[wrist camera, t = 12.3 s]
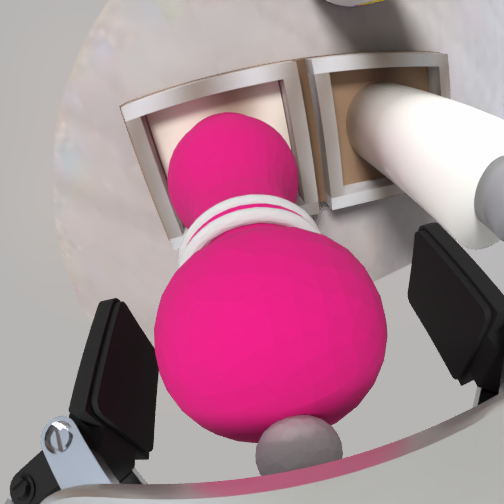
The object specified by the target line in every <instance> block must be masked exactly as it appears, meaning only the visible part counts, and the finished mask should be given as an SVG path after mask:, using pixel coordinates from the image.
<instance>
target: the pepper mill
mask: <svg viewBox="0 0 504 504" xmlns="http://www.w3.org/2000/svg"><path fill="white" fill-rule="evenodd" d="M167 182H168V193H169V197H170V201H171V203H172V205H173V207H174V209H175V212H176V214H177V216H178V217H179V219H180V220H181V222H182V223H183V224H184V226H185V227H186V228H187V229H188V231H187V232H186V234H185V236H184V238H183V241H182V243H181V247H180V252H179V259H178V260H179V267H178V270H177V271H176V273H175V274H174V275H173V277H172V279H171V280H170V282H169V284H168V286H167V287H166V289H165V291H164V293H163V295H162V297H161V300H160V304H159V308H158V312H157V317H156V322H155V327H154V337H155V354H156V359H157V364H158V368H159V372H160V375H161V377H162V380H163V382H164V384H165V387H166V389H167V391H168V392H169V394H170V395H171V397H172V398H173V399H174V401H175V402H176V403H177V405H178V406H179V407H180V408H181V410H182V411H183V412H184V413H185V414H187V415H188V416H189V417H190V418H192V419H193V420H194V421H195V422H197V423H198V424H199V425H200V426H202V427H203V428H205V429H207V430H209V431H211V432H213V433H215V434H217V435H220V436H223V437H226V438H229V439H233V440H236V441H242V442H251V443H258V444H257V447H256V464H257V466H258V470H259V472H260V474H261V476H265V475H271V474H277V473H282V472H288V471H293V470H298V469H302V468H307V467H311V466H316V465H320V464H324V463H328V462H332V461H336V460H339V459H342V455H343V452H342V444H341V441H340V438H339V436H338V434H337V432H336V431H335V430H334V429H333V427H332V426H331V425H333V424H335V423H337V422H338V421H339V420H340V419H342V418H343V417H344V416H345V415H347V414H348V413H349V412H351V411H352V410H353V409H354V408H356V407H357V406H358V405H359V403H360V402H361V401H362V400H363V398H364V397H365V396H366V394H367V393H368V392H369V390H370V389H371V388H372V386H373V385H374V383H375V381H376V378H377V376H378V373H379V371H380V369H381V366H382V364H383V361H384V356H385V350H386V349H385V348H386V342H387V325H386V319H385V314H384V310H383V305H382V302H381V297H380V295H379V293H378V291H377V289H376V287H375V285H374V283H373V281H372V280H371V278H370V276H369V274H368V272H367V271H366V269H365V267H364V266H363V265H362V264H361V263H360V262H359V261H358V260H357V259H356V258H355V257H354V255H353V254H352V253H351V252H350V251H349V250H348V249H346V248H345V247H343V246H341V245H340V244H338V243H336V242H335V241H333V240H331V239H330V238H328V237H326V236H324V235H322V233H321V232H320V231H319V228H318V226H317V225H316V223H315V222H314V220H313V219H312V218H311V216H310V215H309V214H308V213H307V212H306V211H305V210H303V209H302V208H300V207H299V206H297V205H296V204H295V203H296V200H297V195H298V168H297V164H296V161H295V157H294V155H293V153H292V151H291V149H290V147H289V146H288V144H287V142H286V141H285V139H284V138H283V137H282V136H281V134H280V133H279V132H277V131H276V130H275V129H274V128H273V127H271V126H270V125H268V124H267V123H265V122H263V121H261V120H259V119H257V118H253V117H250V116H246V115H244V114H240V113H235V112H223V113H218V114H214V115H211V116H208V117H206V118H204V119H203V120H201V121H200V122H198V123H197V124H196V125H195V126H194V127H193V128H192V129H191V130H190V131H189V132H187V133H186V134H185V135H184V137H183V138H182V139H181V140H180V141H179V143H178V144H177V146H176V148H175V149H174V151H173V154H172V156H171V159H170V162H169V168H168V179H167Z"/></svg>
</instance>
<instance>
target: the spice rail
mask: <svg viewBox="0 0 504 504" xmlns="http://www.w3.org/2000/svg"><path fill="white" fill-rule="evenodd" d="M379 81H388V82H393V83H397V84H401V85H405V86H409V87H412V88H416V89H419V90H423V91H426V92H429V93H433V94H436V95H439V96H442V97H445V98H448V99H450V79H449V65H448V54H442V53H437V52H430V51H378V52H358V53H345V54H334V55H324V56H315V57H307V58H300V59H293V60H286V61H280V62H274V63H269V64H263V65H258V66H253V67H248V68H243V69H239V70H234V71H230V72H225V73H221V74H217V75H213V76H209V77H205V78H202V79H198V80H194V81H191V82H187V83H184V84H180V85H177V86H174V87H171V88H167V89H164V90H161V91H158V92H155V93H152V94H149V95H146V96H143V97H140V98H138V99H135V100H132V101H129V102H127V103H124V104H123V105H121V106H119V107H120V110H121V113H122V116H123V119H124V122H125V125H126V128H127V131H128V134H129V136H130V139H131V142H132V145H133V148H134V151H135V153H136V156H137V159H138V162H139V164H140V167H141V170H142V173H143V175H144V178H145V181H146V183H147V186H148V188H149V191H150V194H151V196H152V199H153V201H154V204H155V206H156V209H157V212H158V214H159V217H160V219H161V222H162V224H163V226H164V229H165V231H166V234H167V236H168V239H169V241H171V244H172V246H173V249H174V250H177V249H180V247H181V243H182V241H183V238H184V236H185V234H186V232H187V231H188V229H187V228H186V227H185V226H184V224H183V223H182V222H181V220H180V219H179V217H178V216H177V214H176V212H175V209H174V207H173V205H172V203H171V201H170V197H169V193H168V182H167V179H168V168H169V162H170V159H171V156H172V154H173V151H174V149H175V148H176V146H177V144H178V143H179V141H180V140H181V139H182V138H183V137H184V135H185V134H186V133H187V132H189V131H190V130H191V129H192V128H193V127H194V126H195V125H196V124H197V123H198V122H200V121H201V120H203V119H204V118H206V117H208V116H211V115H214V114H218V113H223V112H235V113H240V114H244V115H246V116H250V117H253V118H257V119H259V120H261V121H263V122H265V123H267V124H268V125H270V126H271V127H273V128H274V129H275V130H276V131H277V132H279V133H280V134H281V136H282V137H283V138H284V139H285V141H286V142H287V144H288V146H289V147H290V149H291V151H292V153H293V155H294V157H295V161H296V164H297V168H298V195H297V200H296V203H295V204H296V205H297V206H299V207H300V208H302V209H303V210H305V211H306V212H307V213H308V214H309V215H310V216H311V215H315V214H319V213H320V211H319V203H321V202H327V204H328V205H329V206H330V208H331V209H332V210H336V209H340V208H344V207H348V206H352V205H357V204H361V203H365V202H369V201H374V200H378V199H382V198H387V197H391V196H395V195H400V194H404V193H405V192H404V191H403V190H402V189H400V188H399V187H398V186H397V185H396V184H394V183H393V182H392V181H391V180H390V179H388V178H387V177H386V176H385V175H384V174H382V173H381V172H380V171H379V170H377V169H376V168H375V167H374V166H372V165H371V164H370V163H368V162H367V161H366V160H365V159H363V158H362V157H361V156H360V155H358V154H357V153H356V152H355V150H354V149H353V148H352V146H351V144H350V142H349V140H348V137H347V133H346V115H347V111H348V108H349V105H350V103H351V101H352V100H353V98H354V96H355V95H356V94H357V93H358V92H359V91H360V90H361V89H362V88H364V87H365V86H367V85H369V84H371V83H374V82H379Z"/></svg>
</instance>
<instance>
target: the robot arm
mask: <svg viewBox="0 0 504 504" xmlns="http://www.w3.org/2000/svg"><path fill="white" fill-rule="evenodd" d="M408 299H409V302H410V304H411V306H412V307H413V309H414V311H415V312H416V314H417V316H418V317H419V319H420V321H421V322H422V324H423V326H424V327H425V329H426V331H427V332H428V334H429V336H430V337H431V339H432V341H433V343H434V345H435V346H436V348H437V350H438V352H439V353H440V355H441V357H442V359H443V361H444V362H445V364H446V366H447V368H448V370H449V372H450V373H451V375H452V377H453V378H454V379H458V380H459V382H460V384H461V386H462V385H464V384H466V383H468V382H470V381H472V380H474V381H475V382H476V384H477V391H476V395H475V400H474V404H473V408H472V409H470V410H468V411H466V412H464V413H462V414H459V415H457V416H455V417H453V418H451V419H449V420H447V421H445V422H442V423H440V424H438V425H436V426H433V427H431V428H429V429H426V430H424V431H422V432H419V433H417V434H414V435H412V436H409V437H407V438H404V439H401V440H399V441H396V442H393V443H390V444H388V445H385V446H382V447H379V448H376V449H373V450H370V451H367V452H363V453H360V454H357V455H353V456H351V457H347V458H343V459H339V460H336V461H332V462H328V463H324V464H320V465H316V466H311V467H307V468H302V469H298V470H293V471H288V472H282V473H277V474H271V475H265V476H259V477H252V478H245V479H237V480H227V481H217V482H205V483H187V484H150V485H149V484H147V482H146V481H145V480H144V479H143V477H142V476H141V475H140V474H139V472H138V471H137V470H136V469H135V467H134V465H135V460H138V459H139V460H140V459H142V460H143V459H149V452H150V451H152V449H153V443H154V424H155V410H156V395H157V384H158V372H159V368H158V364H157V359H156V354H155V349H154V347H153V346H152V344H151V343H150V341H149V340H148V338H147V337H146V335H145V334H144V332H143V331H142V329H141V327H140V326H139V324H138V323H137V321H136V320H135V318H134V316H133V315H132V313H131V312H130V310H129V308H128V307H127V305H126V304H125V303H124V302H120V300H119V299H117V298H114V299H110V300H105V301H101V302H100V303H99V305H98V308H97V311H96V314H95V317H94V320H93V323H92V326H91V329H90V333H89V336H88V339H87V343H86V346H85V349H84V353H83V356H82V360H81V363H80V367H79V371H78V374H77V378H76V382H75V386H74V390H73V394H72V398H71V402H70V407H69V412H70V415H69V418H68V417H66V416H59V417H55V418H54V419H52V420H51V421H50V422H49V423H48V424H47V425H46V426H45V428H44V430H43V432H42V435H41V446H42V451H41V452H40V453H39V454H38V455H36V456H35V457H34V458H33V459H32V460H31V461H30V462H29V463H28V464H27V465H26V466H24V467H23V468H22V469H21V470H20V471H19V472H18V473H17V474H16V475H15V476H14V477H13V480H12V482H11V485H10V495H11V498H12V500H10V499H7V501H6V503H5V504H504V295H503V294H502V293H501V291H500V290H499V289H498V288H497V287H496V285H495V284H494V283H493V282H492V281H491V280H490V278H489V277H488V276H487V275H486V274H485V272H483V270H482V269H481V268H480V267H479V266H478V265H477V264H476V262H475V261H474V260H473V259H472V258H471V257H470V256H469V255H468V254H467V253H466V251H465V250H464V249H463V248H462V247H461V246H460V245H459V244H458V243H457V242H456V241H455V240H454V239H453V238H452V237H451V236H450V235H449V234H448V233H447V232H446V231H445V230H444V229H443V228H442V227H441V226H440V225H439V224H438V223H436V222H434V223H430V224H426V225H423V226H420V228H419V230H418V232H416V233H415V238H414V248H413V258H412V266H411V274H410V282H409V288H408Z"/></svg>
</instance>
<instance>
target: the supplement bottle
mask: <svg viewBox="0 0 504 504" xmlns="http://www.w3.org/2000/svg"><path fill="white" fill-rule="evenodd" d="M326 1H328V2H331V3H333V4H337V5H341V6H349V7H354V6H362V5H366V4H371V3H375V2H380V1H385V0H326Z"/></svg>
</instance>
